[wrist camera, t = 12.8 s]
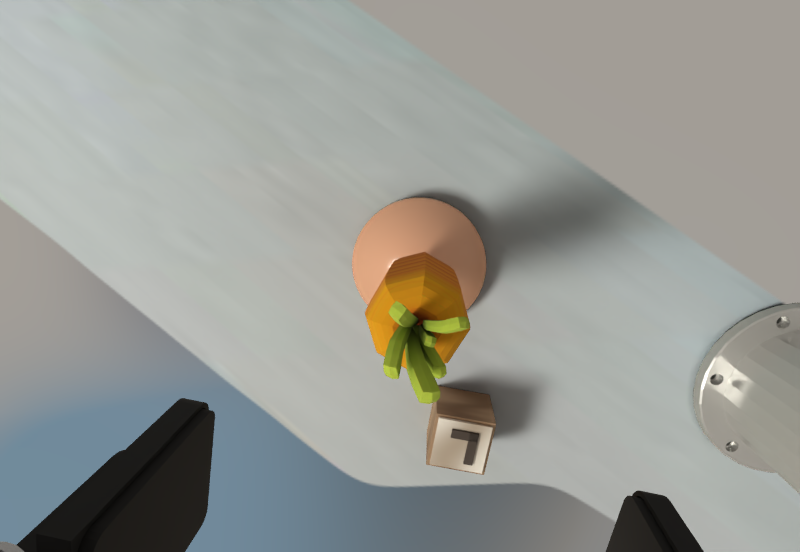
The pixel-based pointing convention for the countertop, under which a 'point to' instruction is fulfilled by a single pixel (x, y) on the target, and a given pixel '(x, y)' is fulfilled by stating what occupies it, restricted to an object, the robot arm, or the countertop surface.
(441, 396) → the letter cube
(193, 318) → the countertop surface
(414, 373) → the carrot
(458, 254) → the peach glossy dome
